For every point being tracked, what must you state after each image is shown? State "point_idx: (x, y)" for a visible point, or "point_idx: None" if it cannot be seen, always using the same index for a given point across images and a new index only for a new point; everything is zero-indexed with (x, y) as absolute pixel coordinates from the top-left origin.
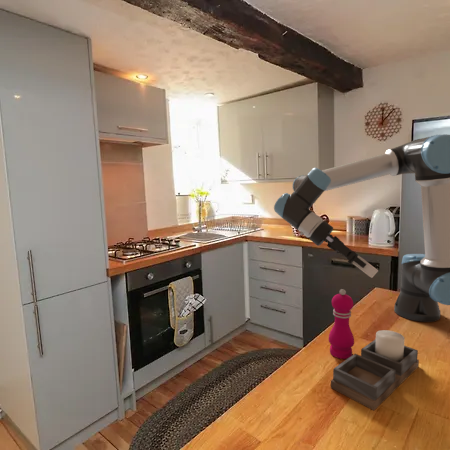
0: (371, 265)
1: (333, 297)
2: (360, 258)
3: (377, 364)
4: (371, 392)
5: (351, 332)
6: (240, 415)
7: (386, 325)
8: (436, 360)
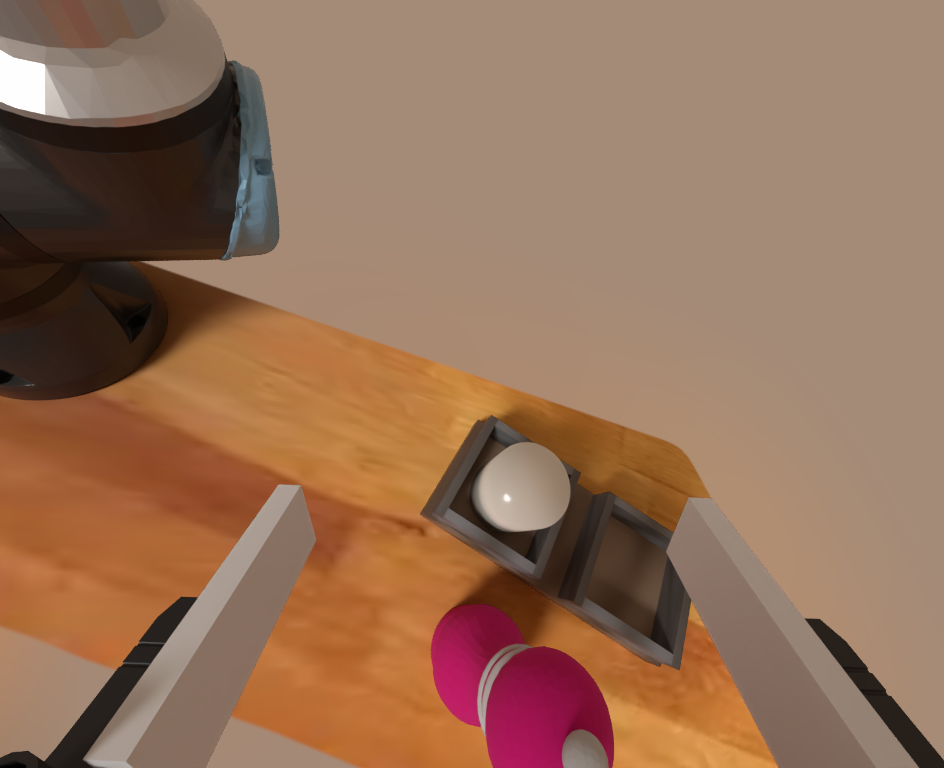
0: (756, 560)
1: None
2: (873, 728)
3: (603, 534)
4: None
5: (495, 623)
6: None
7: (201, 460)
8: (431, 377)
